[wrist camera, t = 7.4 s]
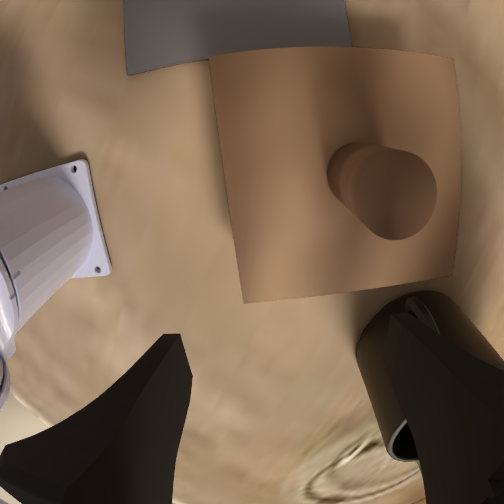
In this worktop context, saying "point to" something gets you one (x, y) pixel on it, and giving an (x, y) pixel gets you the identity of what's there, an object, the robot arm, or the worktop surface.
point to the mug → (374, 372)
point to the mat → (226, 28)
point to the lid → (338, 167)
